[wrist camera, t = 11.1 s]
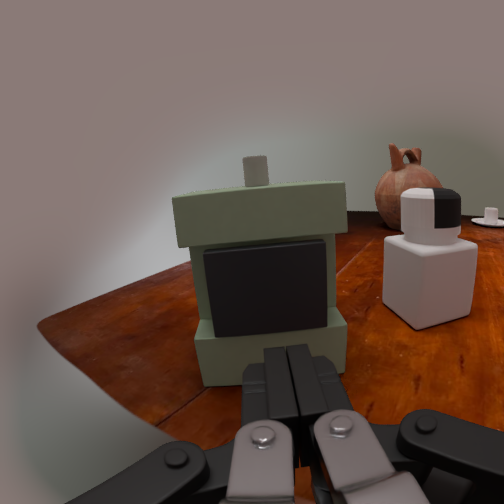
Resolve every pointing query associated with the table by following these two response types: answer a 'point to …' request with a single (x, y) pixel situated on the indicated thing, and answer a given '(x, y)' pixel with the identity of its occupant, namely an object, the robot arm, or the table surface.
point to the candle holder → (490, 218)
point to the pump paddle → (267, 287)
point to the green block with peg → (254, 233)
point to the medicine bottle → (429, 260)
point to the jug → (401, 183)
